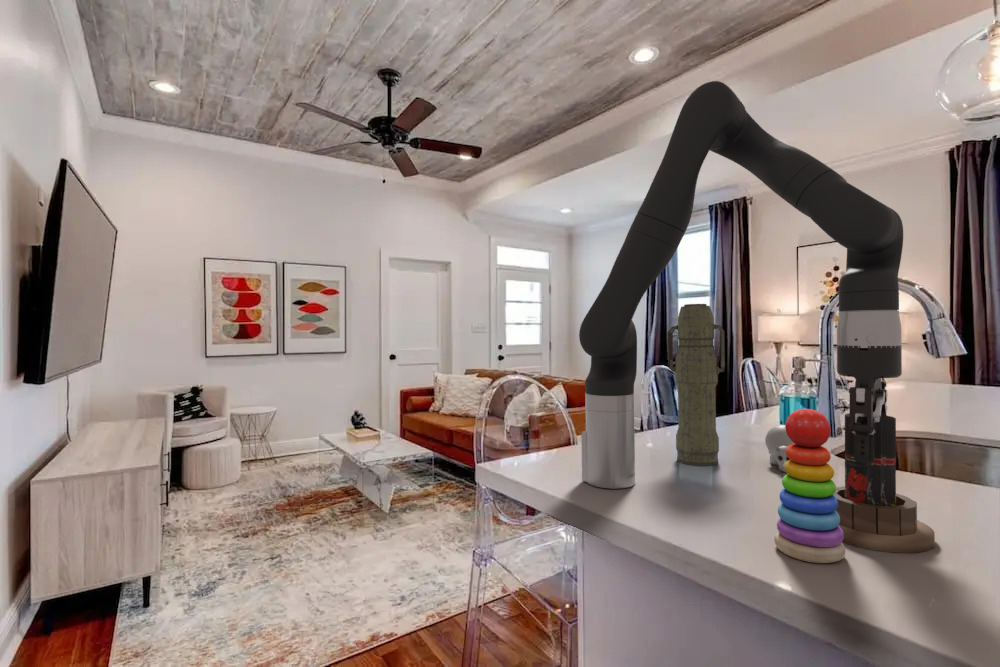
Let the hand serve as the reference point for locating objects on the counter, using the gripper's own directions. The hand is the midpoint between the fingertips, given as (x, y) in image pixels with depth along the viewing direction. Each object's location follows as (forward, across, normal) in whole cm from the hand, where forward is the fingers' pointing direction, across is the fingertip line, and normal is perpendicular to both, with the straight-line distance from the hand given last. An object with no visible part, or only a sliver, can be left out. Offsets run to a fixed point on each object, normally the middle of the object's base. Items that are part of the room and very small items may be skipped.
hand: (868, 456), depth 74 cm
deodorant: (+9, 0, 0) cm, 9 cm away
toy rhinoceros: (+11, -32, -19) cm, 38 cm away
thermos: (+11, -25, -35) cm, 44 cm away
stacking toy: (+11, +13, -5) cm, 18 cm away
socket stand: (+11, 0, 0) cm, 11 cm away
